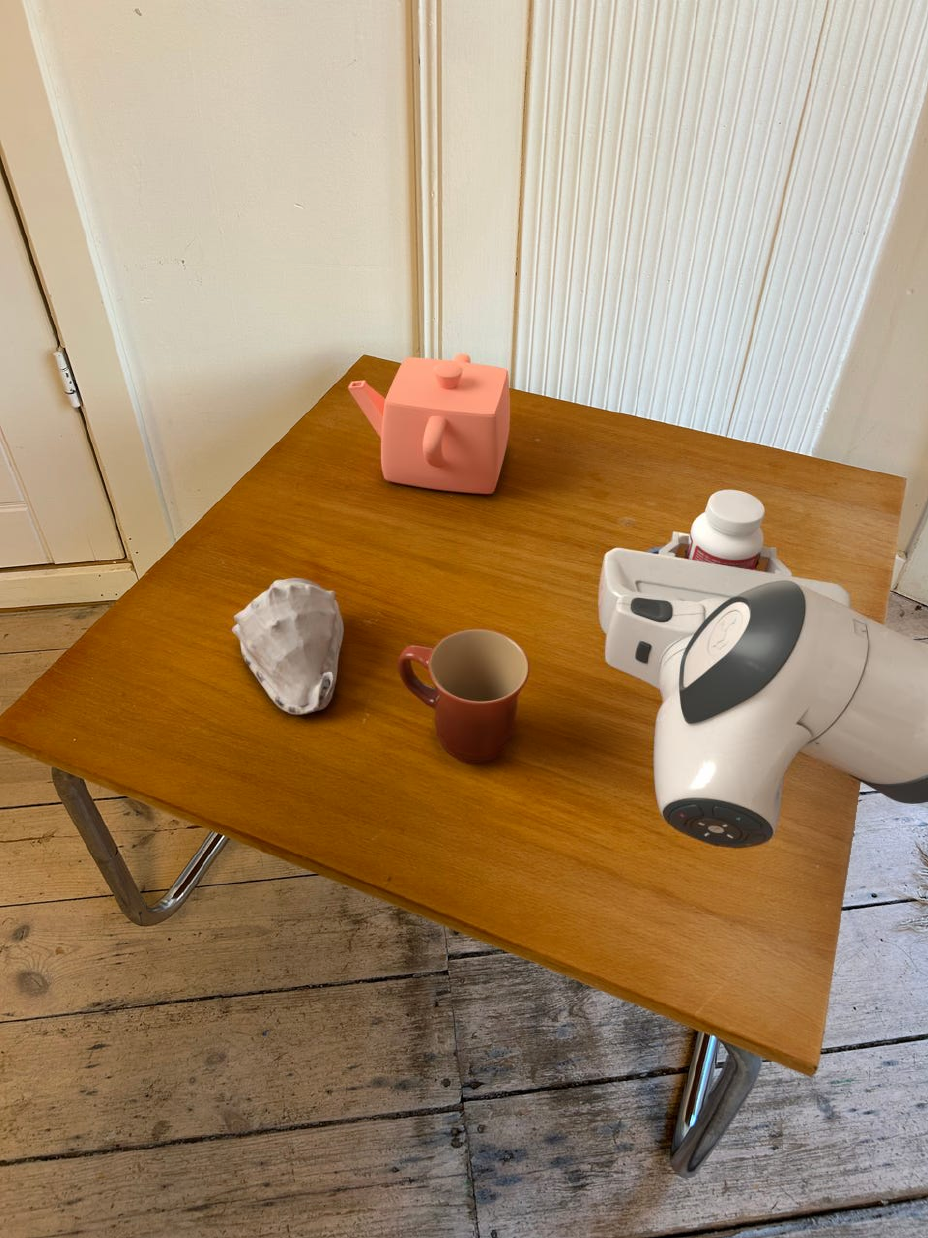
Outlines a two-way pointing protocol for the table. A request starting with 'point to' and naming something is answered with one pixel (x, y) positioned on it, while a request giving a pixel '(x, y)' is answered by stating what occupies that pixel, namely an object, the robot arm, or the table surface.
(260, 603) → the seashell
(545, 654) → the table surface
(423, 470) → the teapot
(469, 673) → the mug
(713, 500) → the pill bottle
